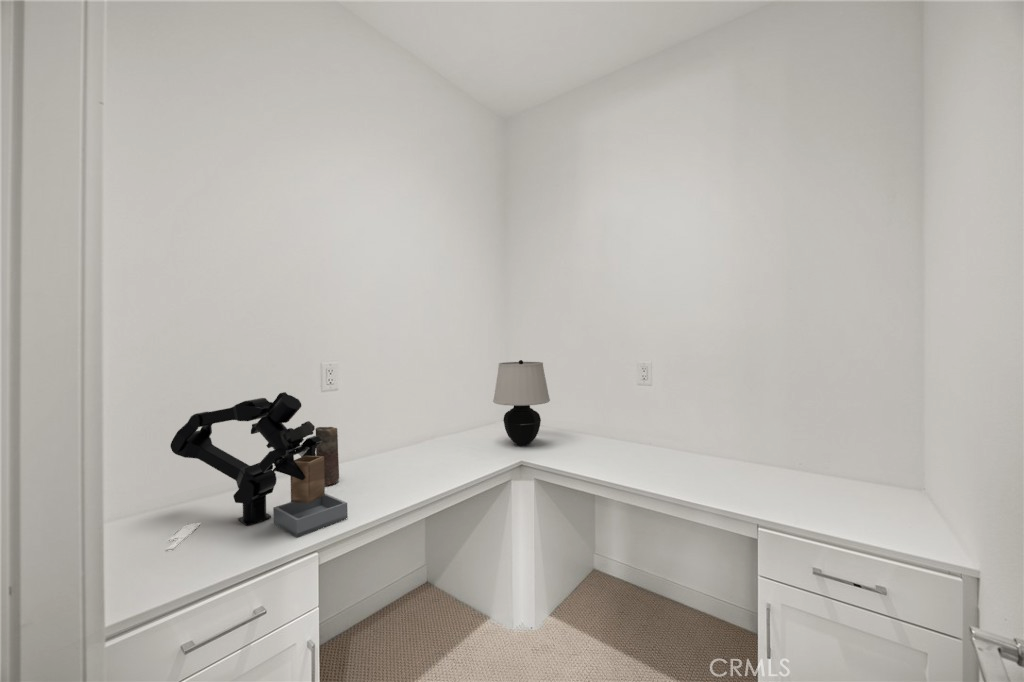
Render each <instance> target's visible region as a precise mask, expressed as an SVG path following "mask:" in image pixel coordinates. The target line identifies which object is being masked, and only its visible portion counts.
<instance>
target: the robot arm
mask: <svg viewBox="0 0 1024 682" xmlns="http://www.w3.org/2000/svg"><path fill="white" fill-rule="evenodd" d="M301 408H302V402H301V401H300V399H299V398H296V397H295V396H293V395H292V394H291V395H290V394H288V393H287V392H286V391H285V392H280V393H278V395H277V396H276V398H275V399H274V400H273V401H269V400H268V399H267V398H266V397H260V398H254V399H248V400H244V401H241V402H239V403H236V404H235V405H233V406H231V407H229V408H223V409H218V410H213V411H202V412H197V413H193V415H191V416H190V417H189V419H188V421H187V422H186V423H185V424H184V425H183V426H182V427H181V428H179V429H178V430H177V432H176V433H175V435H174V437H173V438H172V440H171V441H170V450H171V451H172V453H173V454H175V455H177V456H179V457H182V458H188V459H198V460H199V461H201V462H203V463H205V464H207V466H208V465H209V466H210V467H212V468H213V469H215V470H217V471H219V472H221V473H222V474H224V475H225V476H228V477H229V478H231V479H233V480H234V481H236V485H237V491H236V492H235V493H234V494H233V496H232V497H233V499H234V502H235V503H236V504H242V516H240V517H239V518H237V519H238V520H237V521H239V522H241V523H242V524H243V525H244V526H250V525H253V524H256V523H260V522H262V521H265V520H268V519H271V518H272V515H271V514H269V513H267V495H269V494H271V493H273V492H274V488H275V487H276V485H277V474H276V473H277V472H278V473H281V474H283V475H287V476H290V477H291V476H292V477H295V478H298V479H300V480H304V479H305V475H304V474H303V472H302V471H301V470H300V468H299V467H298V466H297V464H296V463H295V461H294V460H295V457H294V456H295V455H297V454H298V455H299V456H300V458H301V457H303V456H316V448H317V446H318V445H319V444H320V443H321V442H322V440H321V439H320V437H319V436H316V435H314V431H315V430H316V426H315V425H314V424H313V423H312V422H311V421H310V420H308V421H305V422H303V423H301V425H300V426H297V427H294V428H293V427H289V428H287V427H286V426H285V424H286V423H288V422H290V420H291V419H292V418H294V416H295V415H296V414H297V413H298V411H299V410H301ZM254 420H255V421H256V420H258V421H257V423H256V422H255V423H252V424H251V429H250V434H251V435H253V434H254V435H255V434H257V433H260V435H261V436H262V437H263V439H264V440H265V441H266V442H267V444H266V447H267V448H268V449H270V448H272V449H273V450H270V451H269V452H268V453H267V454H266V455H265V456H264V457H263V459H261V460H260V461H259V462H258V463H255V464H252V465H250V464H247V462H244V461H242V460H240V459H239V458H237V457H235V456H234V455H232V454H230V453H228V452H226V451H224V450H222V449H221V448H219V447H217V446H215V444H213V442H212V438H211V435H212V434H213V431H212V430H213V429H212V427H213V425H214V424H218V423H224V422H230V421H237V422H251V421H254ZM199 428H200V430H198V429H199ZM312 435H313V436H312ZM308 436H310V437H308ZM305 438H306V439H305ZM275 472H276V473H275Z"/></svg>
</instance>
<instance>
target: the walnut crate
mask: <svg viewBox="0 0 1024 682" xmlns="http://www.w3.org/2000/svg"><path fill="white" fill-rule="evenodd" d="M294 461H295V463H296V464H297V466H298V467H299V468H300V470H301V471H302V472H303V474H304V475H305V479H304V480H300V479H298V478H295V477H292V476H290V502H296V503H310V504H311V503H312V502H314V501H316V500H317V499H319V498H321V497H323V496H324V495H325V494H326V491H325V489H326V488H325V482H324V456H303V457H301V456H300V457H298V458H296V459H294Z"/></svg>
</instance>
